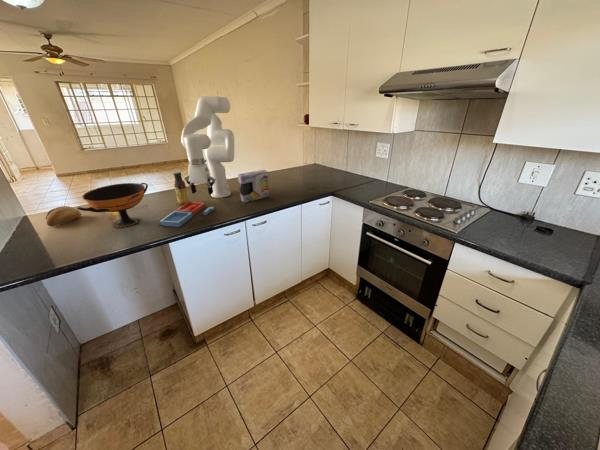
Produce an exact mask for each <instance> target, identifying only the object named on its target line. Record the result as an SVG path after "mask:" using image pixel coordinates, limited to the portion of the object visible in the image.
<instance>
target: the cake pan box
mask: <svg viewBox="0 0 600 450" xmlns="http://www.w3.org/2000/svg"><path fill="white" fill-rule="evenodd" d="M268 174H269V173H268V170H266V169H260V170H253V171H249V172H243V173H238V174H237V178H238V179H237V180H238V185H239V186H238V190H239V196H240V201H241V202H242V203H244V204H245V203H248V202H253V201H257V200H261V199H265V198H269V197H270V189H269V175H268Z"/></svg>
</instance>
